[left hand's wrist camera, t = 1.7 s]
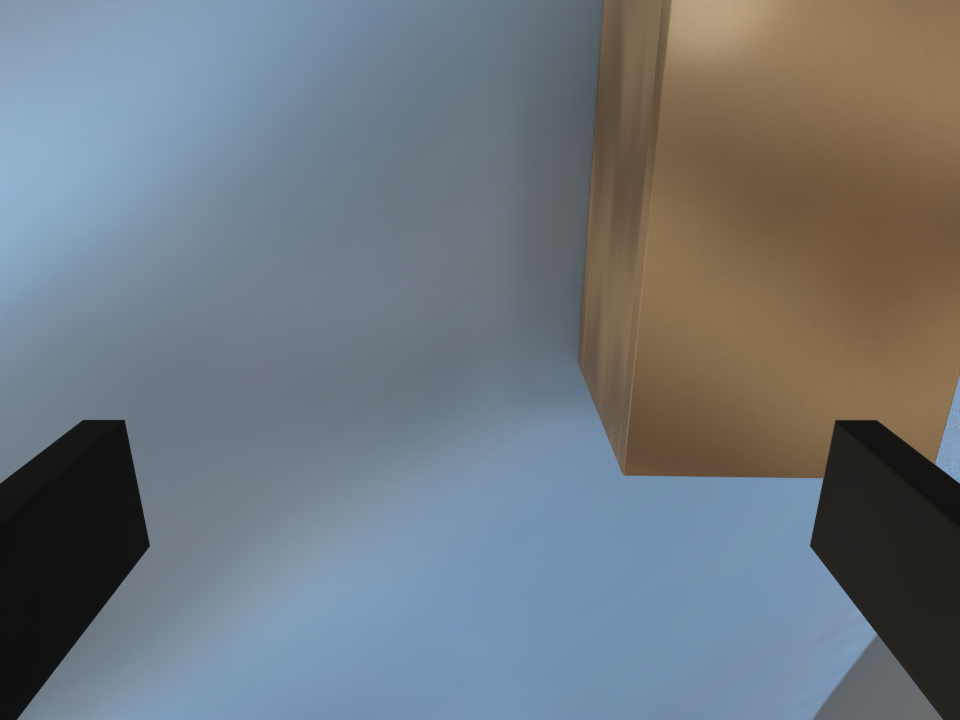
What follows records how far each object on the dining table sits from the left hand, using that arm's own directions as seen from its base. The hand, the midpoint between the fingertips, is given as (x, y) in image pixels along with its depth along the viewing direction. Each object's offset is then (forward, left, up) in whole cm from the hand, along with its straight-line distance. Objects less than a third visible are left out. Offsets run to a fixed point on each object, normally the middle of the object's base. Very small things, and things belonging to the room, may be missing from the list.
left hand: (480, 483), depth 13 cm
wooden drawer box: (+5, -11, -22) cm, 25 cm away
